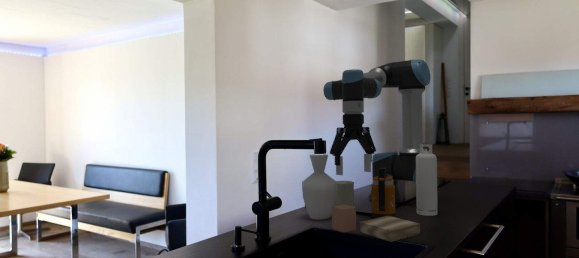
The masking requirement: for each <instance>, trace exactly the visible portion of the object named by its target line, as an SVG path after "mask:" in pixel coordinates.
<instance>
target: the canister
mask: <svg viewBox="0 0 579 258" xmlns="http://www.w3.org/2000/svg"><path fill="white" fill-rule="evenodd" d="M386 171H387V169H386V167H380V169H379V172H378V176H377V177H374V178H373V177H372V184H371V186H370V187H371V189H370V192H371V191H372V202H371V217H373V219H375V218H380V217H385V216H391V217H395V218H396V204H395V186H394V185H393V178H392V176H391V175H389V177H388V174H387V173H386ZM386 175H387V176H386Z"/></svg>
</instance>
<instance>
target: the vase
mask: <svg viewBox="0 0 579 258" xmlns="http://www.w3.org/2000/svg"><path fill="white" fill-rule="evenodd" d="M316 154H317V153H316ZM316 154H313V153H312V154H309V158H310V161H311V165H312V168H313V169H312V170H313V172H312V173H311V174H310V175H308V176H307V177H306V178H305V179H304V180H303V181H301V190H302V198H303V203H304V206H305V208H306V211H307V214H308V216H309V218H310V219H311V220H319V221H320V220H326V219H327V220H328V219H329V218H332V207H333V206H334V205H335V201H336V197H337V182H336V181H337V180H335V179H334V178H332V177H331V176H330V175H329V174H327V173H326V172H325V169H326V166H327V161H328V158H329V154H325V153H322V154H323V155H316Z"/></svg>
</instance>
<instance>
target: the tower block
mask: <svg viewBox="0 0 579 258" xmlns="http://www.w3.org/2000/svg"><path fill="white" fill-rule="evenodd" d="M331 230H334V231H337V232H340V233H348V232H351V231H356V230H357V206H354V207H353V206H349V205H345V204H344V205H338V206H333V207H332V214H331Z"/></svg>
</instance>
